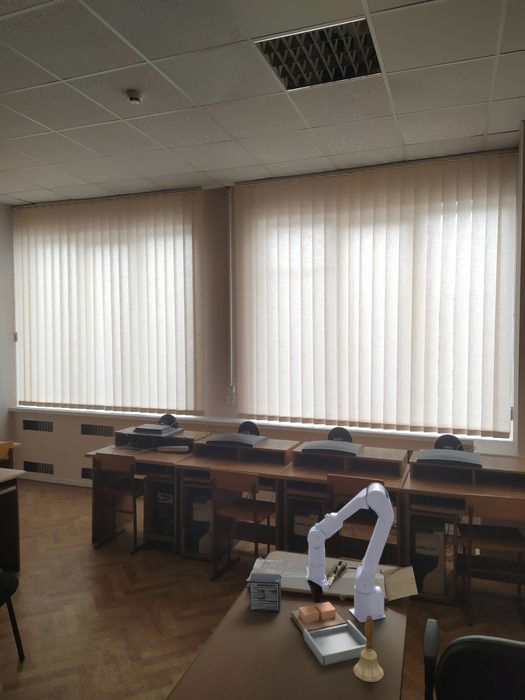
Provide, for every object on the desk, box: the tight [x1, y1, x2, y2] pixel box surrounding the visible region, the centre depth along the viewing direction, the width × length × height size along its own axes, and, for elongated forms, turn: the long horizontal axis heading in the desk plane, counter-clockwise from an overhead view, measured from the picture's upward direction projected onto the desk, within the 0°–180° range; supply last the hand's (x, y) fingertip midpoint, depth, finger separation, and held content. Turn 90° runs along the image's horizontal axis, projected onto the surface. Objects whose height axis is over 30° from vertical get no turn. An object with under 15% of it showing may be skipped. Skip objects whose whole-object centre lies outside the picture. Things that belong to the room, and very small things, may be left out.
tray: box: [302, 619, 366, 667], centre depth 154 cm, size 16×14×3 cm
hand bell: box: [353, 616, 384, 683], centre depth 142 cm, size 8×8×16 cm
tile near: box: [314, 601, 337, 619], centre depth 168 cm, size 5×5×2 cm
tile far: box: [298, 604, 319, 623], centre depth 166 cm, size 5×5×2 cm
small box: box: [249, 573, 282, 613], centre depth 177 cm, size 11×6×10 cm, turn 84°
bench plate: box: [290, 609, 347, 634], centre depth 167 cm, size 14×12×2 cm
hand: (316, 601), depth 175 cm, fingers closed
